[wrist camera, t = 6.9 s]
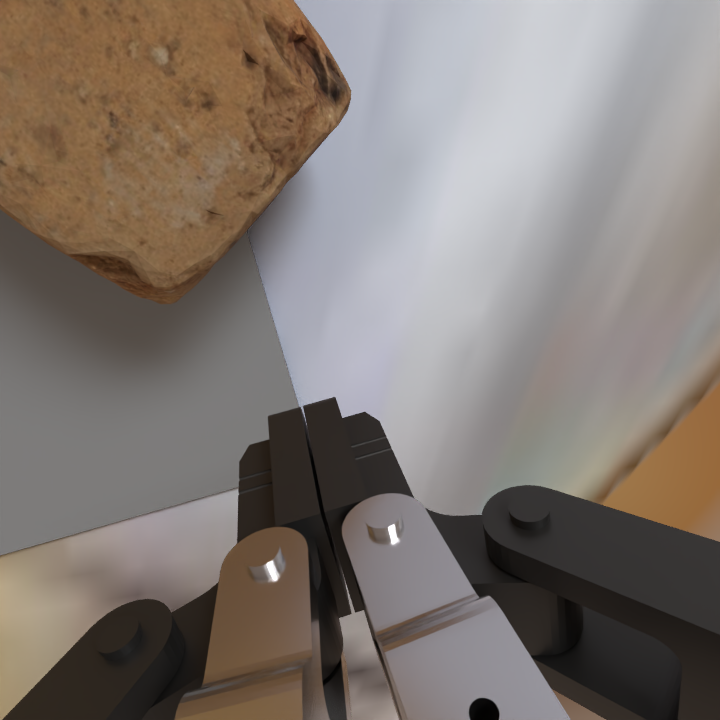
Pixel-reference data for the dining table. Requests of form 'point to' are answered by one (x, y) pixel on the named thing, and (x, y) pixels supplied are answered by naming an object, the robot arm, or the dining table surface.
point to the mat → (125, 389)
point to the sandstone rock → (157, 127)
